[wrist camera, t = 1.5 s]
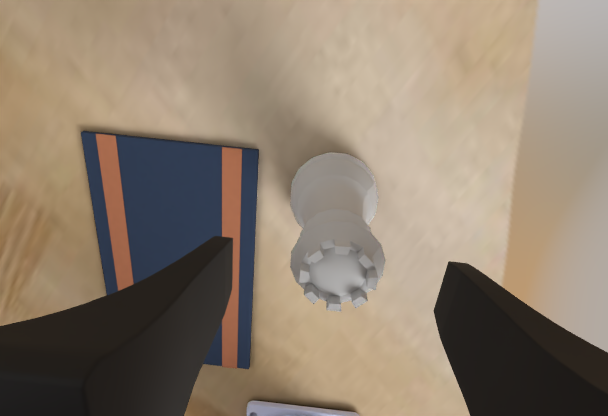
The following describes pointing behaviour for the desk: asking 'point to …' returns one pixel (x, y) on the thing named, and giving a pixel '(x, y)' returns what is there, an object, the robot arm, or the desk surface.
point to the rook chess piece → (335, 230)
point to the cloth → (176, 217)
